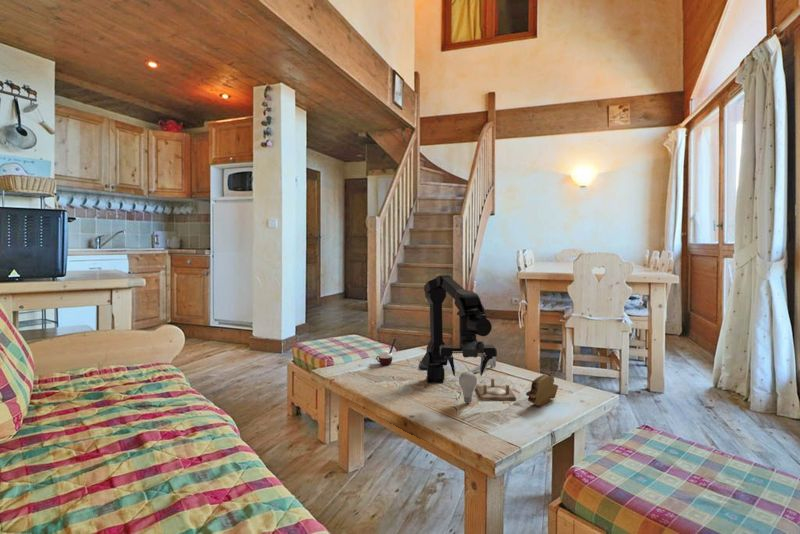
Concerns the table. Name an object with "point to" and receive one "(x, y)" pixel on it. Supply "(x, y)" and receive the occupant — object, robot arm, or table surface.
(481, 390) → the pin holder
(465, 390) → the lightbulb
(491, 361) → the caliper
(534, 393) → the wooden carving
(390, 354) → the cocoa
